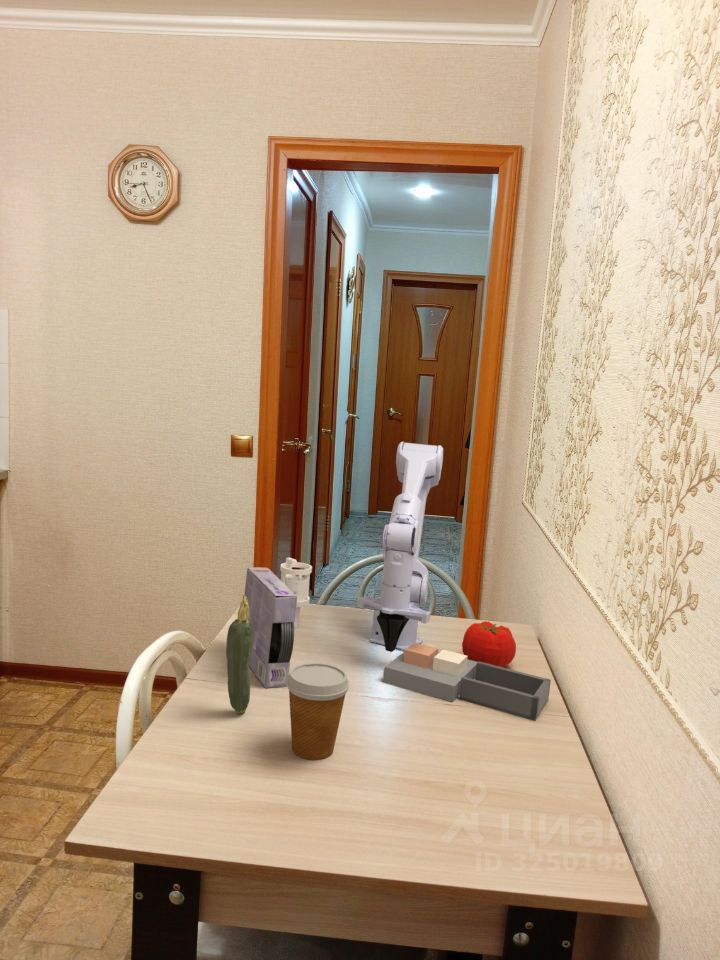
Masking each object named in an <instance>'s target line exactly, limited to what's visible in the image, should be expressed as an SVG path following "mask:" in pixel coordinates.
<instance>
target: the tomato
mask: <svg viewBox="0 0 720 960" xmlns="http://www.w3.org/2000/svg"><path fill="white" fill-rule="evenodd" d="M461 648H462V649H461V650H462V654H463V655H466V656H468V657H467V659H468V660H472V661H476V662H478V661H480V662H483V663H487V664H491V665H495V666H499V667H503V668H506V667H507V666H508V665H510V664H511V663H512V661H514V659H515V657H516V653H517V643H516V641H515V638H514V636H513V633H512V631H511V629H510V628H509V627H506V626H503V625H499V626H497V623H494V624H493V623H492V622H490V621H482V622H480V623H478V622H474V623H472V624H471V625H470V626H468V628H466V630H465V632H464V635H463V638H462V644H461Z"/></svg>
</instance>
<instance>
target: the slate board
mask: <svg viewBox="0 0 720 960" xmlns="http://www.w3.org/2000/svg"><path fill="white" fill-rule="evenodd" d="M440 652H441V651H438V653H440ZM476 665H477V662H476V661H472V660H468V659H467V667H466V669H465V670H464V671H463V672H462V673H461V674H460V675H459V676H458V677H457V676H453V675H449V674H446V673H442V672H438V671H435V670H433V664H432V665H431V666H430V667H429V668H428V669H427V668H424V667H420V666H416V665H412V664H409V663H405V662H404V652H402V653H400V655H398V656H397V657H396V658H394V659H393V660H392V661H390V662H389V663H388V664H386V665H384V666H383V667H384V669H383V677H382V683H385V684H388V683H389V684H388V685H392V686H397V687H398V688H402V689H405V690H410V691H413V692H417V693H420V694H424V695H428V696H430V697H433V698H437V699H441V700H445V701H448V702H451V703H453V702H455V701H456V699H457V698H458V697H459V695H460V686H461V678H462V677H463V676H464V677H467V678H471V679H475V675H476Z"/></svg>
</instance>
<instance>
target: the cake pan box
mask: <svg viewBox="0 0 720 960" xmlns="http://www.w3.org/2000/svg"><path fill="white" fill-rule="evenodd" d="M243 595H244V596H246V597H247V600H248V605H249V611H250V617H249V619H247V620H248V621H249V622H250V623H251V624H252V626H253V629H254V642H253V647H252V652H251V657H250V663H249V669H250V670H251V671H252V672H253V674H255V676H256V677H257V678H258V680H259V681H260V683H261V684H262V685H263V687H264V688H265V689H273V688H274V689H275V688H285V687H288V686H287V684H286V679H287V677H288V676H289V674H290V665H291V658H292V655H293V652H294V651H293V650H294V643H295V642H294V641H295V628H294V622H295V616H296V605H297V596H296V595H295V594H294V593H293V592H292V591H291V590H290V589H289V588H288V587H287V586H286V585H285V584H284V583H283V582H282V581H281V578H279V577H278V576H277V575H276V574H275V573H274V572H273V571H272V570H271V569H270V568H268V567H260V566H259V567H252V566H251V567H250V566H249V567H247V569H246V575H245V586H244V594H243Z"/></svg>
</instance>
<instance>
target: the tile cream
mask: <svg viewBox="0 0 720 960" xmlns="http://www.w3.org/2000/svg"><path fill="white" fill-rule="evenodd" d="M439 652H440V653H438V654H437V655H436V656H435V657H434V660H433V670H435V671H438V672H442V673H446V674H449V675H453V676H457V677H458V676H459V675H460V674H461V673H462V672H463V671H464V670H465V669H466V667H467V657H468V656H466V655H464V654H463V653H458V652H454V651H450V650H448V649H447V650H446V649H442V650H440V651H439Z"/></svg>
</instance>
